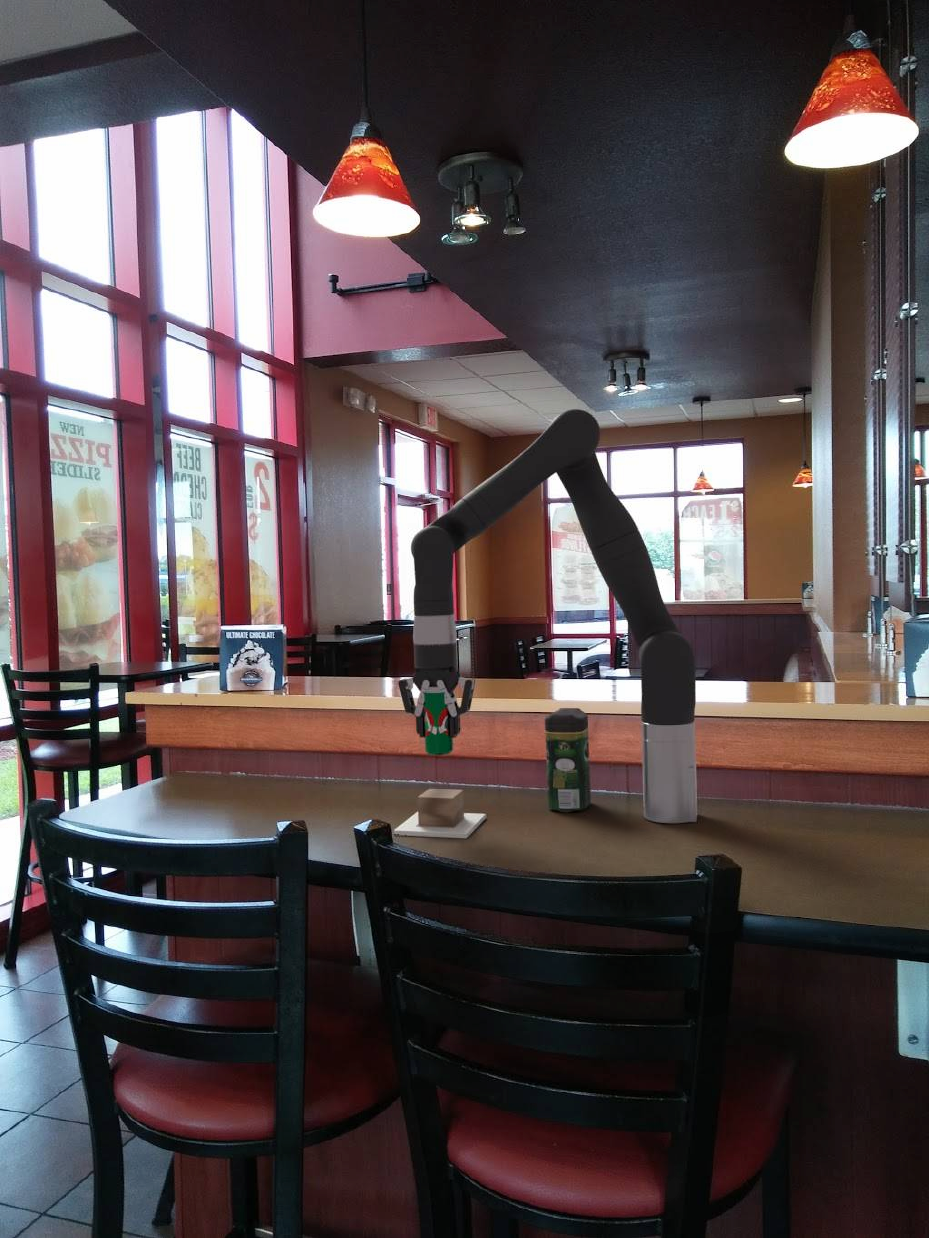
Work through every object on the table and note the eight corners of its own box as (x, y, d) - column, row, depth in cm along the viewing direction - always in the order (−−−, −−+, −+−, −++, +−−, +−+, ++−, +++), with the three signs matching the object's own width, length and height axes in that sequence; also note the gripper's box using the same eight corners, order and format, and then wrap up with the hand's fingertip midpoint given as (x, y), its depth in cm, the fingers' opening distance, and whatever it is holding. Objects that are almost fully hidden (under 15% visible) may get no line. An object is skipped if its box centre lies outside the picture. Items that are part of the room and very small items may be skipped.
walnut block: (464, 817, 165) (463, 789, 165) (453, 827, 159) (452, 798, 158) (430, 815, 167) (429, 788, 166) (418, 825, 160) (417, 797, 160)
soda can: (455, 750, 164) (452, 683, 164) (451, 755, 159) (449, 686, 159) (427, 750, 165) (424, 684, 164) (423, 756, 160) (420, 687, 159)
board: (485, 818, 167) (485, 813, 167) (466, 838, 155) (466, 833, 155) (418, 815, 171) (417, 810, 171) (393, 834, 158) (393, 829, 158)
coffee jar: (553, 799, 179) (550, 705, 179) (594, 801, 177) (591, 705, 176) (542, 812, 170) (539, 712, 169) (585, 814, 168) (582, 713, 167)
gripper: (480, 638, 163) (483, 733, 164) (403, 640, 167) (407, 732, 168) (468, 642, 156) (472, 741, 156) (389, 643, 160) (392, 740, 160)
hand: (438, 736), depth 162 cm, fingers closed on soda can, 5 cm apart
